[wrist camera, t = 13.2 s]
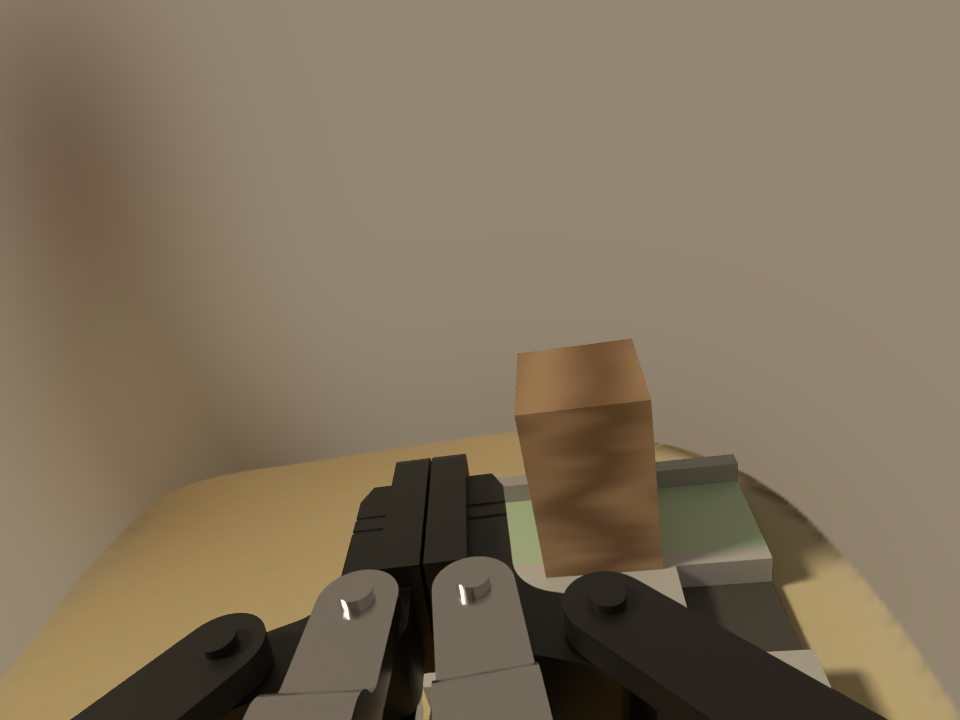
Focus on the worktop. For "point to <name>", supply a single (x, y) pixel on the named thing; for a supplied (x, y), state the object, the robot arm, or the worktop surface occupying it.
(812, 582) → the worktop surface
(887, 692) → the worktop surface
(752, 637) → the board
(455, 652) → the robot arm
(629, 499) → the walnut block
